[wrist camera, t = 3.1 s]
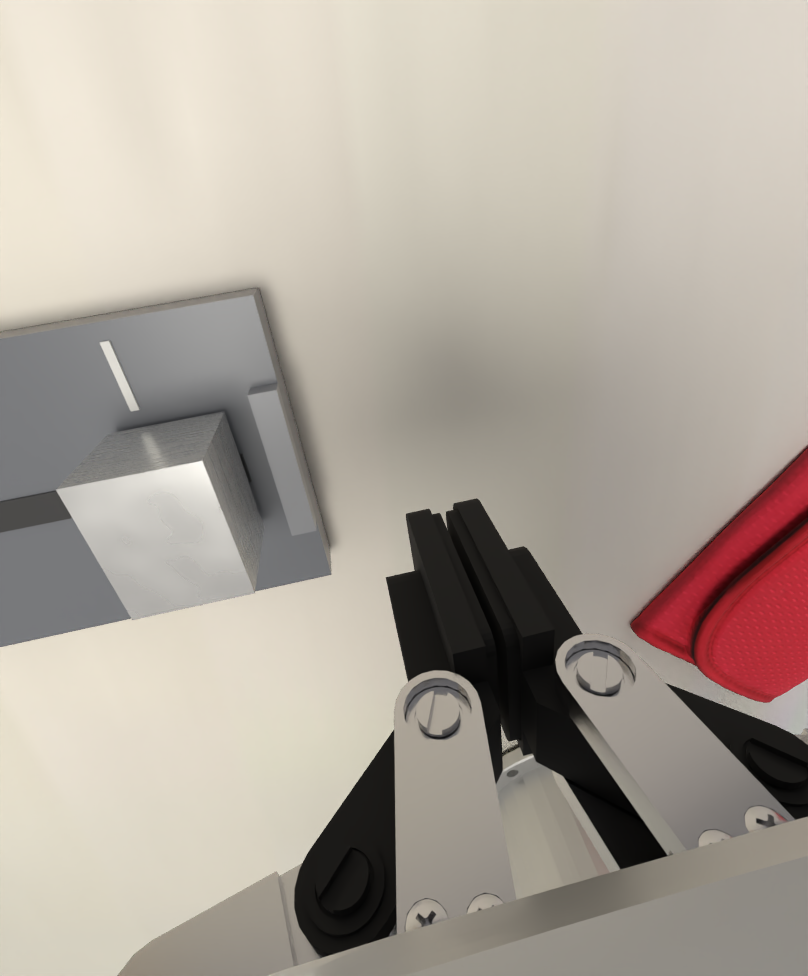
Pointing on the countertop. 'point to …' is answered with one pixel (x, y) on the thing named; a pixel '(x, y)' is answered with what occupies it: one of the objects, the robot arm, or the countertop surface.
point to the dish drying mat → (744, 597)
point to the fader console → (129, 405)
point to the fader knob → (169, 515)
